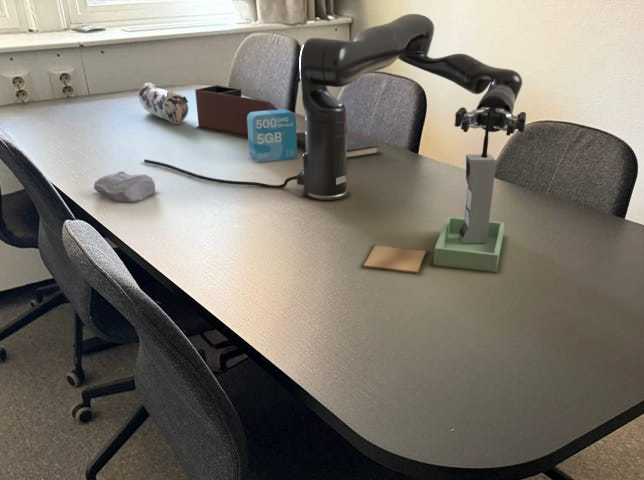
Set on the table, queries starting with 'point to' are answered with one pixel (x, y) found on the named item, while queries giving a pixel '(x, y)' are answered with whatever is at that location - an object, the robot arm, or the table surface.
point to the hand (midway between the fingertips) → (486, 128)
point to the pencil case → (163, 103)
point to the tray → (468, 247)
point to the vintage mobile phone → (478, 194)
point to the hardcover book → (354, 146)
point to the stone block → (125, 186)
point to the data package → (272, 135)
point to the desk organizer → (226, 109)
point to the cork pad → (395, 259)
